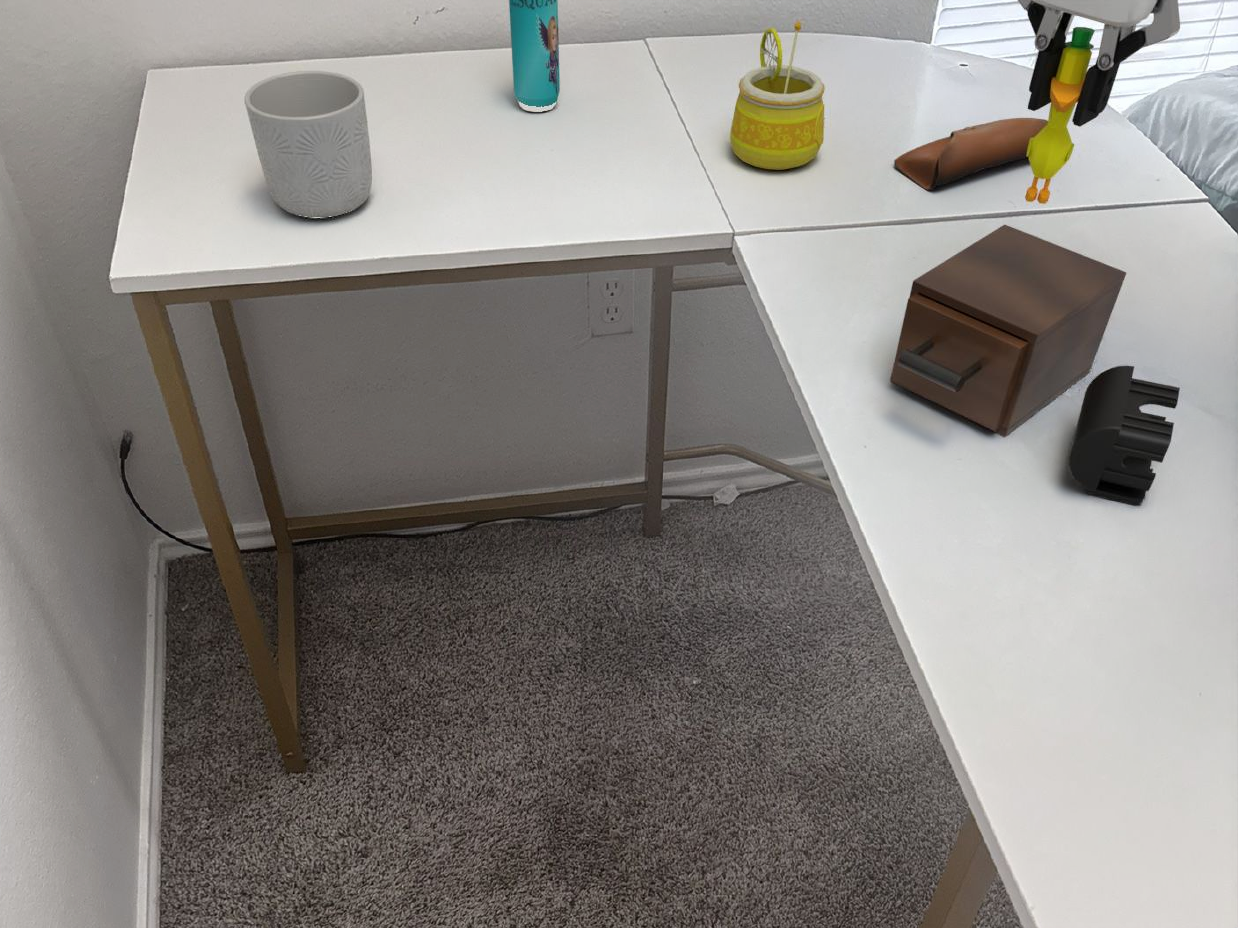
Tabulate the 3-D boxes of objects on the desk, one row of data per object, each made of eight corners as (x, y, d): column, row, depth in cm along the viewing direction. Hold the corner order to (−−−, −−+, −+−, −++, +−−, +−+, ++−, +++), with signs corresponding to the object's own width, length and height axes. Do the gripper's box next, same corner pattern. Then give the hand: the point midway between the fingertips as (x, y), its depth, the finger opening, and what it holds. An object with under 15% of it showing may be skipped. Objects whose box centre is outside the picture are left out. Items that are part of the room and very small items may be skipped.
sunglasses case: (1002, 127, 139) (1036, 84, 133) (1028, 178, 139) (1064, 137, 133) (888, 161, 134) (917, 118, 127) (914, 214, 134) (946, 173, 127)
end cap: (1071, 427, 103) (1098, 357, 98) (1152, 445, 101) (1184, 374, 96) (1055, 491, 97) (1082, 420, 92) (1140, 510, 96) (1173, 439, 90)
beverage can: (547, 118, 142) (542, -28, 130) (506, 110, 143) (498, -35, 131) (567, 101, 145) (564, -43, 133) (527, 93, 146) (521, -50, 134)
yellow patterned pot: (809, 182, 132) (826, 63, 122) (718, 168, 134) (727, 50, 124) (832, 137, 139) (850, 21, 129) (745, 124, 141) (756, 10, 131)
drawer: (967, 451, 99) (992, 367, 93) (862, 398, 104) (879, 316, 98) (1074, 371, 107) (1104, 289, 101) (971, 325, 112) (993, 244, 105)
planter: (292, 172, 133) (270, 65, 124) (393, 183, 131) (379, 75, 122) (251, 222, 125) (225, 112, 117) (358, 234, 124) (340, 123, 115)
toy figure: (1053, 219, 94) (1102, 51, 84) (1009, 213, 95) (1053, 45, 85) (1062, 184, 98) (1110, 19, 88) (1019, 178, 98) (1063, 14, 89)
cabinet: (1005, 437, 102) (1038, 335, 94) (890, 381, 107) (912, 280, 100) (1089, 372, 108) (1127, 272, 101) (977, 323, 114) (1004, 223, 106)
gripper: (1014, -204, 78) (949, 96, 93) (1242, -156, 71) (1132, 160, 86) (1072, -223, 81) (1000, 70, 96) (1295, -179, 74) (1180, 130, 89)
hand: (1063, 110), depth 91 cm, fingers closed on toy figure, 3 cm apart
